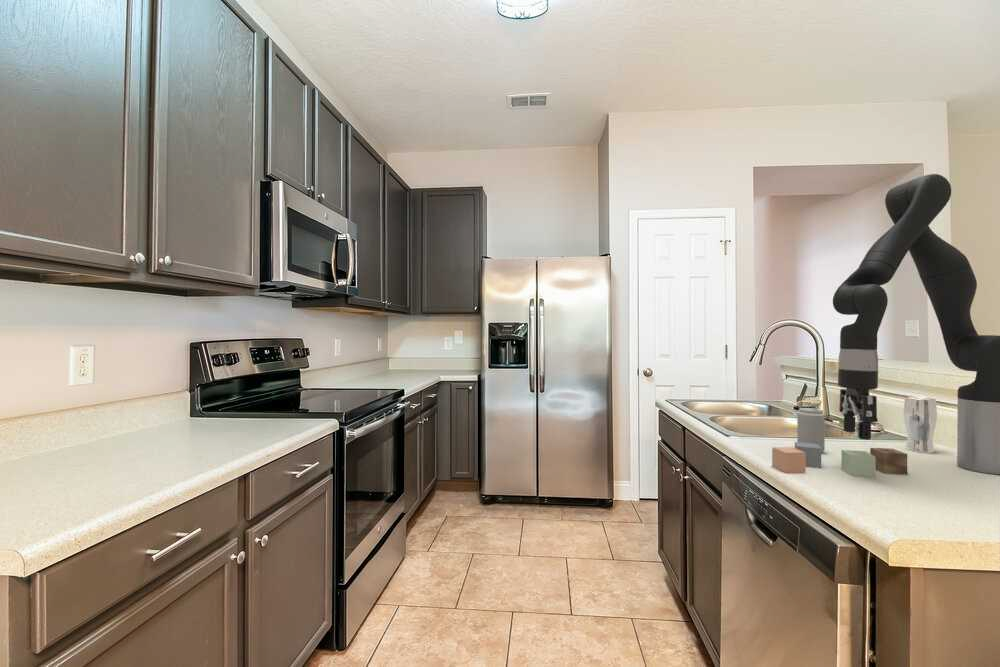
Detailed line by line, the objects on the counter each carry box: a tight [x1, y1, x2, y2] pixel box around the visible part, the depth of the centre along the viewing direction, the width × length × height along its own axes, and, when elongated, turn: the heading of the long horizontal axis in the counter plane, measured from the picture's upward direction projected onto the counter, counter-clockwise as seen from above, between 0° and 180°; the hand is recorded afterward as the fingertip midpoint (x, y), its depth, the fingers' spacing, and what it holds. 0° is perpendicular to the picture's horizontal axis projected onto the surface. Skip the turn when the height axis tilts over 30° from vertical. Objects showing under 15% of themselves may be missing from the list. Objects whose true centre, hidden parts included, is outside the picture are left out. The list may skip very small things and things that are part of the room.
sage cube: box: [841, 449, 876, 479], centre depth 108 cm, size 5×5×5 cm
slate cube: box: [794, 441, 822, 469], centre depth 116 cm, size 5×5×5 cm
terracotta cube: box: [771, 446, 807, 474], centre depth 111 cm, size 5×5×5 cm
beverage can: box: [796, 407, 826, 454], centre depth 128 cm, size 6×6×12 cm
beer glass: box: [903, 396, 938, 454], centre depth 129 cm, size 7×7×15 cm
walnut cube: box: [869, 447, 908, 475], centre depth 110 cm, size 5×5×5 cm
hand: (856, 435), depth 108 cm, fingers open, 8 cm apart
